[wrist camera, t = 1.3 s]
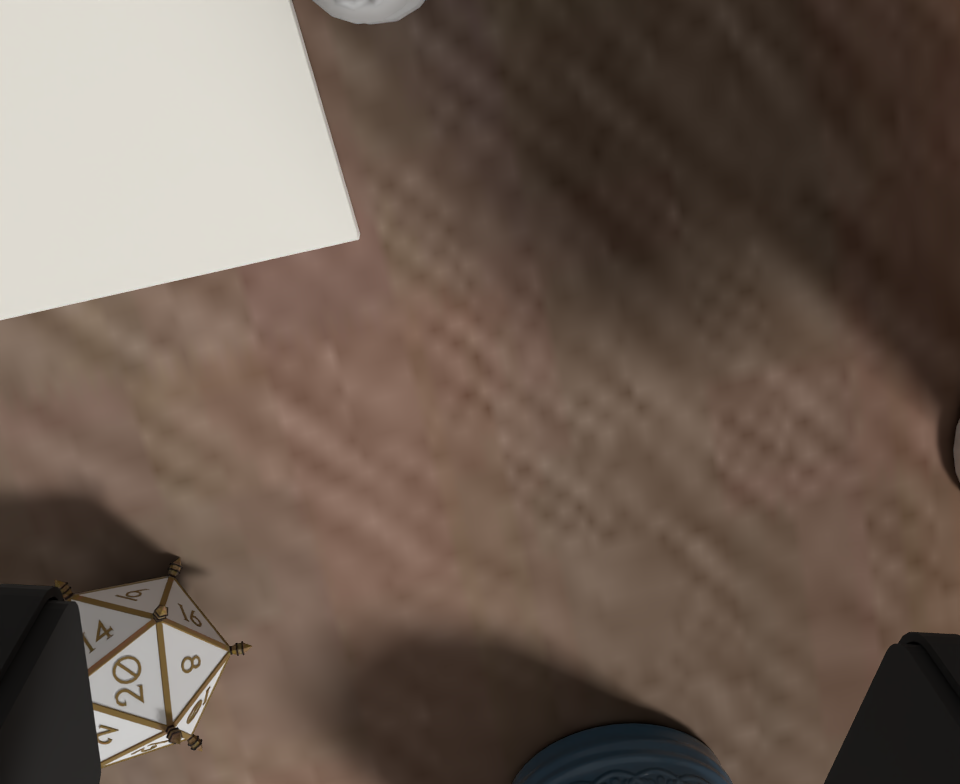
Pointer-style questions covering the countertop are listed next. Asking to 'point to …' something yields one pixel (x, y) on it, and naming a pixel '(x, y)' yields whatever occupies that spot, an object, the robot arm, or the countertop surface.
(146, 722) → the game die
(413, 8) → the rook chess piece
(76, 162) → the mat
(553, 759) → the canister
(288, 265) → the countertop surface
